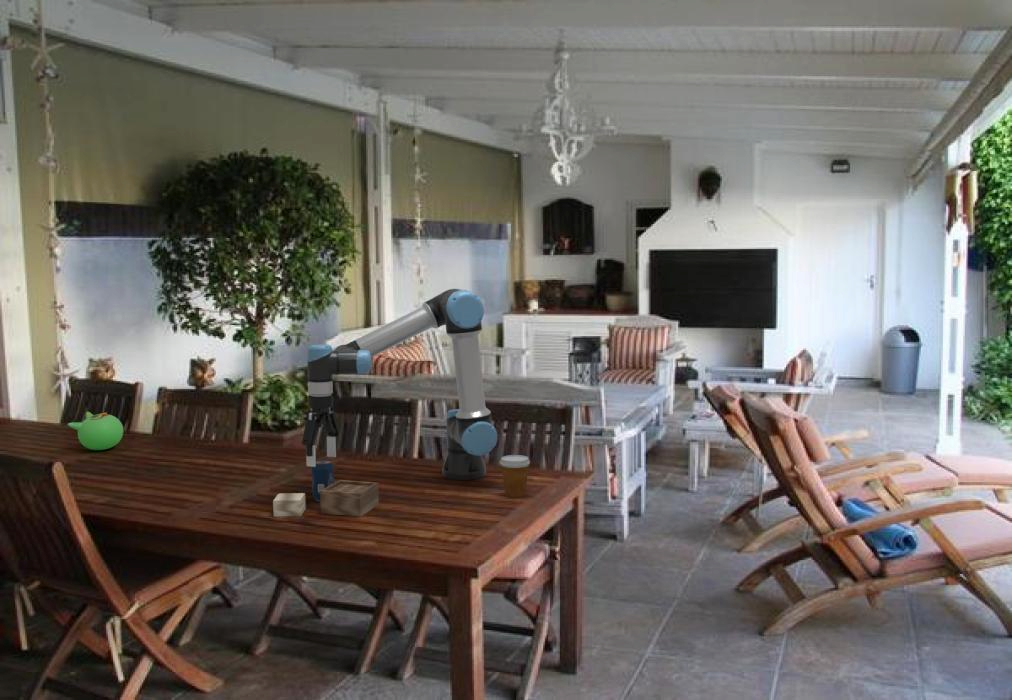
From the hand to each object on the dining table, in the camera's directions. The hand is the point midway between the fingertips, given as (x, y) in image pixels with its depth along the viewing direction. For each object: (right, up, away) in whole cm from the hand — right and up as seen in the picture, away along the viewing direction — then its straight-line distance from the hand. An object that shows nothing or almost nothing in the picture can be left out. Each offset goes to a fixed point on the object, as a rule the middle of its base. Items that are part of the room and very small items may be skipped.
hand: (321, 461), depth 300 cm
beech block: (-7, -14, -13) cm, 20 cm away
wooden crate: (+11, -13, -10) cm, 20 cm away
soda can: (0, -12, +2) cm, 12 cm away
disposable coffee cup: (+61, -11, +4) cm, 62 cm away
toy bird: (-101, -4, +74) cm, 125 cm away
